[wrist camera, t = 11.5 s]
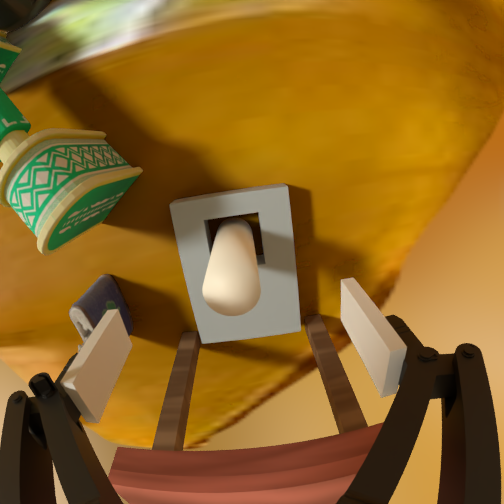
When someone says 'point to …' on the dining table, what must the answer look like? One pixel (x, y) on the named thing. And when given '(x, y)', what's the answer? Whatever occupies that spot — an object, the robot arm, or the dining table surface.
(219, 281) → the peg
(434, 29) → the dining table surface
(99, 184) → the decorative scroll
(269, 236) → the socket block
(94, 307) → the flask
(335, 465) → the curved red bench
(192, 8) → the dining table surface
